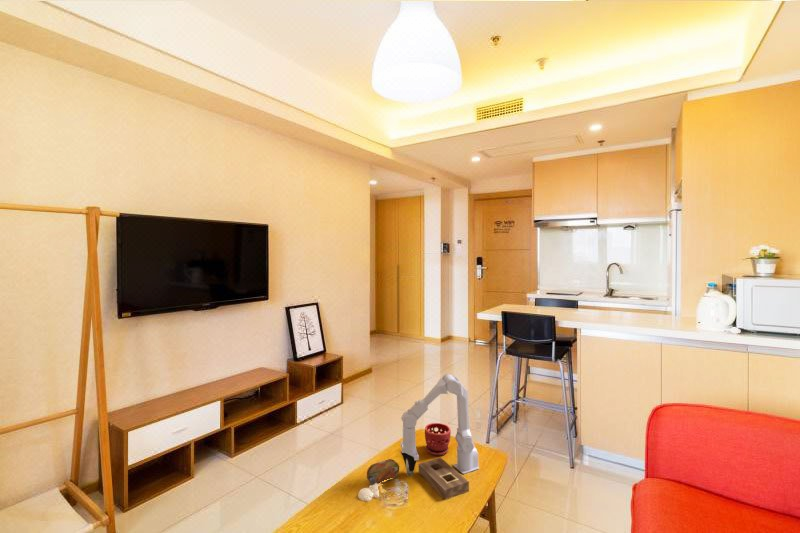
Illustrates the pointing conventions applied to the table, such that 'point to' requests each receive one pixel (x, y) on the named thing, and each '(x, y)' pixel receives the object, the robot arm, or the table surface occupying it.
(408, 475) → the pin
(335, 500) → the table surface
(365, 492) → the astronaut figurine
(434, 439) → the plant pot
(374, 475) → the tin
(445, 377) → the robot arm
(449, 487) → the bore block
